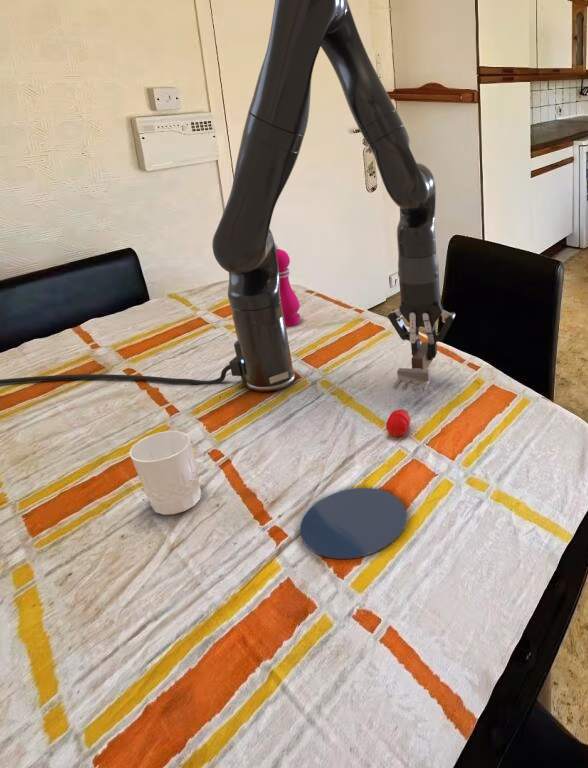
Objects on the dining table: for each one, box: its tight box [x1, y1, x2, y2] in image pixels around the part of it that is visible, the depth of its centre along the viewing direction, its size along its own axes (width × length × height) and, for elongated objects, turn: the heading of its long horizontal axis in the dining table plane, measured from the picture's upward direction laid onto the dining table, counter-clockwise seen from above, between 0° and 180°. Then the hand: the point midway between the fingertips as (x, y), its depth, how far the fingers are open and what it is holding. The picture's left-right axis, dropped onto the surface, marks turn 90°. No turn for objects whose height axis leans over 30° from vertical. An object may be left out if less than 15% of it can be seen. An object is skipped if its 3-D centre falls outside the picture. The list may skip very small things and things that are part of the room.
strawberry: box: [385, 408, 411, 437], centre depth 110 cm, size 4×5×4 cm
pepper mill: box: [274, 242, 301, 328], centre depth 150 cm, size 7×7×20 cm
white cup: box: [129, 430, 202, 516], centre depth 91 cm, size 8×8×10 cm
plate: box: [299, 487, 408, 560], centre depth 89 cm, size 15×15×1 cm
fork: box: [392, 341, 433, 393], centre depth 121 cm, size 16×6×4 cm, turn 172°
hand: (424, 358), depth 126 cm, fingers closed on fork, 2 cm apart
